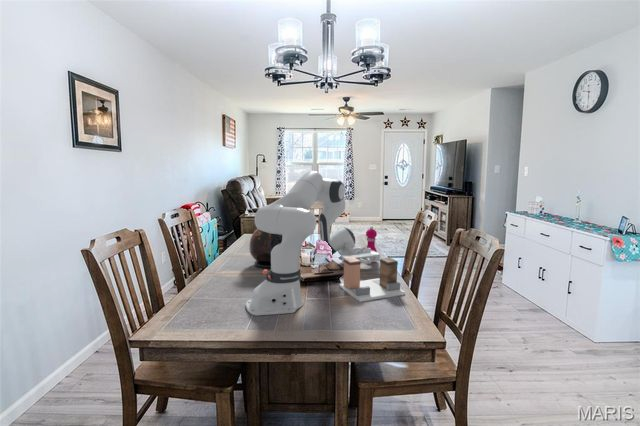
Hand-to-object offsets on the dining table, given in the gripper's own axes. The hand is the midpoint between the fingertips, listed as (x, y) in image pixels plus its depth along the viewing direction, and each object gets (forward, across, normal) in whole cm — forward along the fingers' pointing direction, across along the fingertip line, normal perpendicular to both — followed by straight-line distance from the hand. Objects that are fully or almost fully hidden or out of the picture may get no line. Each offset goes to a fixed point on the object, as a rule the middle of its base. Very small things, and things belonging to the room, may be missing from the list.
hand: (368, 262), depth 174 cm
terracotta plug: (+13, -15, +5) cm, 21 cm away
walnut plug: (+19, 0, +5) cm, 19 cm away
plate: (+17, -8, +7) cm, 20 cm away
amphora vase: (-35, -41, +7) cm, 54 cm away
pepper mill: (-22, +14, +8) cm, 28 cm away
